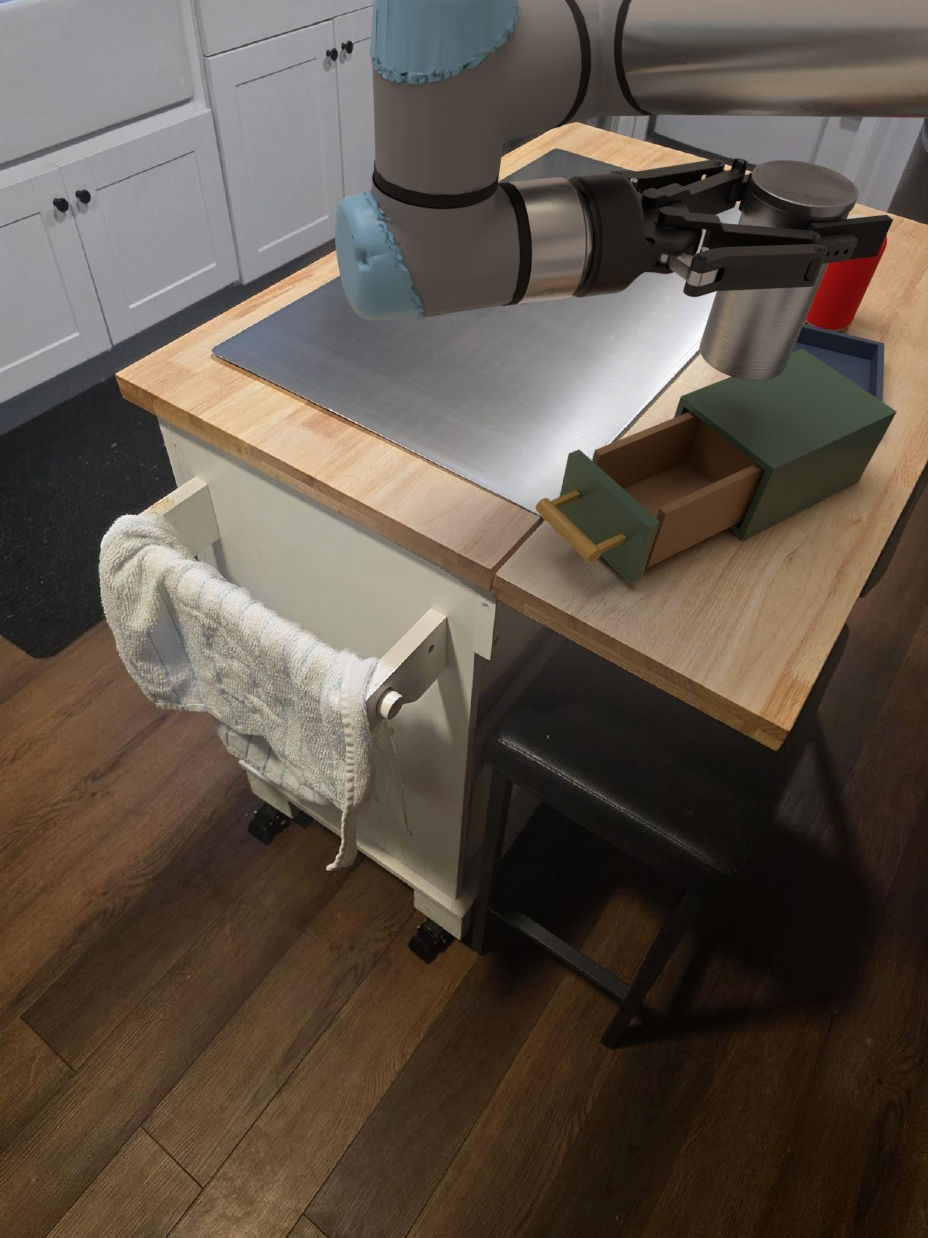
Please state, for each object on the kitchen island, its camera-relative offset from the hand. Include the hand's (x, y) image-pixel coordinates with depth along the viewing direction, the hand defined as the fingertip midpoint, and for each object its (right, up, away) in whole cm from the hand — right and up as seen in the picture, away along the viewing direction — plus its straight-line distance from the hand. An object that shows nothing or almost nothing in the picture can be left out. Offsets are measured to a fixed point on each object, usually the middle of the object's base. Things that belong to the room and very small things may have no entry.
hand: (848, 210), depth 65 cm
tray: (+10, -5, +31) cm, 33 cm away
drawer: (-13, -22, +13) cm, 29 cm away
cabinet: (0, -16, +20) cm, 26 cm away
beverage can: (+14, +5, +40) cm, 43 cm away
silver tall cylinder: (-6, -9, +7) cm, 13 cm away
